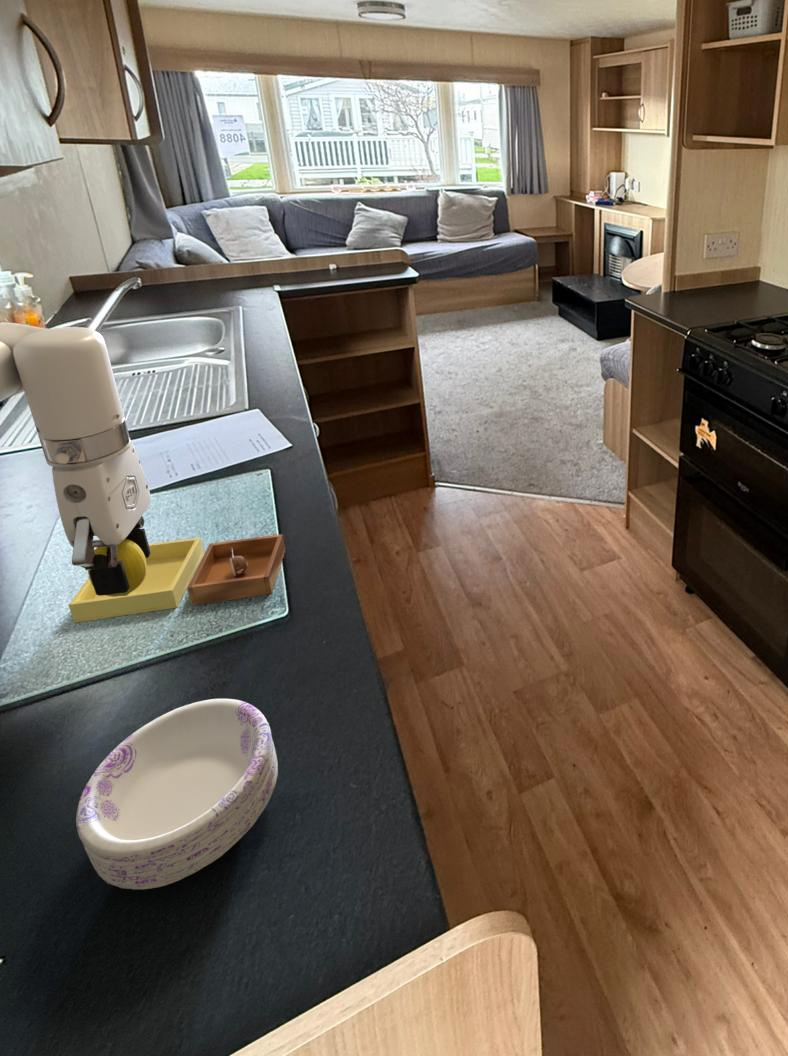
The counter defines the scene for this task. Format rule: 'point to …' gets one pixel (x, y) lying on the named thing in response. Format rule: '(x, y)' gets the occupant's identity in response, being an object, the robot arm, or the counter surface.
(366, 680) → the counter surface
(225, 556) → the brown bin
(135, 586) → the lemon
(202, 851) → the paper bowls
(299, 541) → the counter surface
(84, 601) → the yellow bin
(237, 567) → the chocolate
